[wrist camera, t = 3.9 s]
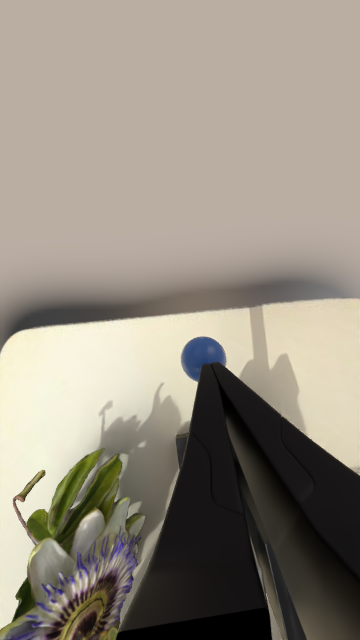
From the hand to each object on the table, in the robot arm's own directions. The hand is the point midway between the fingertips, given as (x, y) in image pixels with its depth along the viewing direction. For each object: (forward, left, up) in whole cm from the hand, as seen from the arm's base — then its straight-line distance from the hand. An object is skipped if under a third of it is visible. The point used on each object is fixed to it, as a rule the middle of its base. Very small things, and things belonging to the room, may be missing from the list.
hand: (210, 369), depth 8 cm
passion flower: (-18, +3, -14) cm, 23 cm away
